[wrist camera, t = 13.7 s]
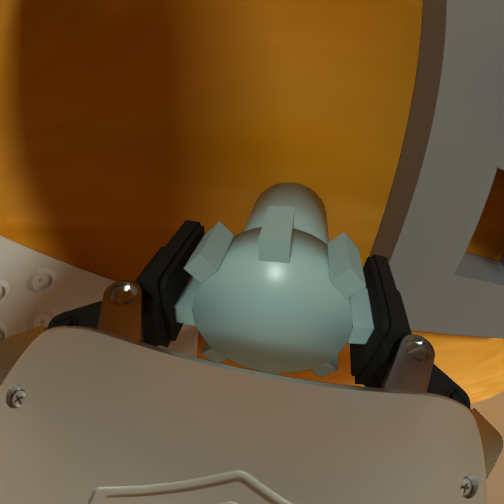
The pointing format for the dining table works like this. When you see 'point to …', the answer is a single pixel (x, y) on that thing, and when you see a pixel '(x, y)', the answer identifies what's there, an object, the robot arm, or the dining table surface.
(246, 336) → the jaw gear
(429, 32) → the housing
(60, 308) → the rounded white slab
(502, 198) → the dining table surface
